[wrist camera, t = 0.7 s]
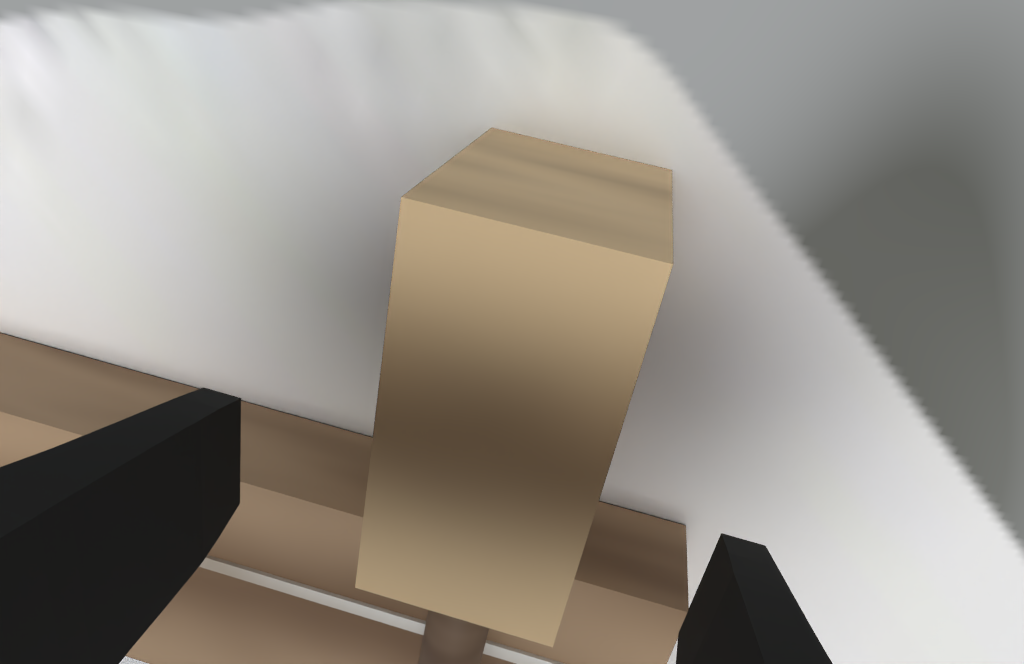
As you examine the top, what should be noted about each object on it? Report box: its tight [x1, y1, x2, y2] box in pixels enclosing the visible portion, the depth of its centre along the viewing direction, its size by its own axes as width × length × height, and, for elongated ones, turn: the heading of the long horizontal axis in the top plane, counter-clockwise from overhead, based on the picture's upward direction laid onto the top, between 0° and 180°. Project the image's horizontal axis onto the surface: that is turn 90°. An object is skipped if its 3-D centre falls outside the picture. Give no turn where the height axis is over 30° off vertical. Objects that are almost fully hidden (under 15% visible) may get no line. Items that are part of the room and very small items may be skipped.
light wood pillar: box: [355, 128, 673, 664], centre depth 16 cm, size 13×4×6 cm, turn 169°
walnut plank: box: [0, 333, 689, 664], centre depth 21 cm, size 8×24×3 cm, turn 79°
